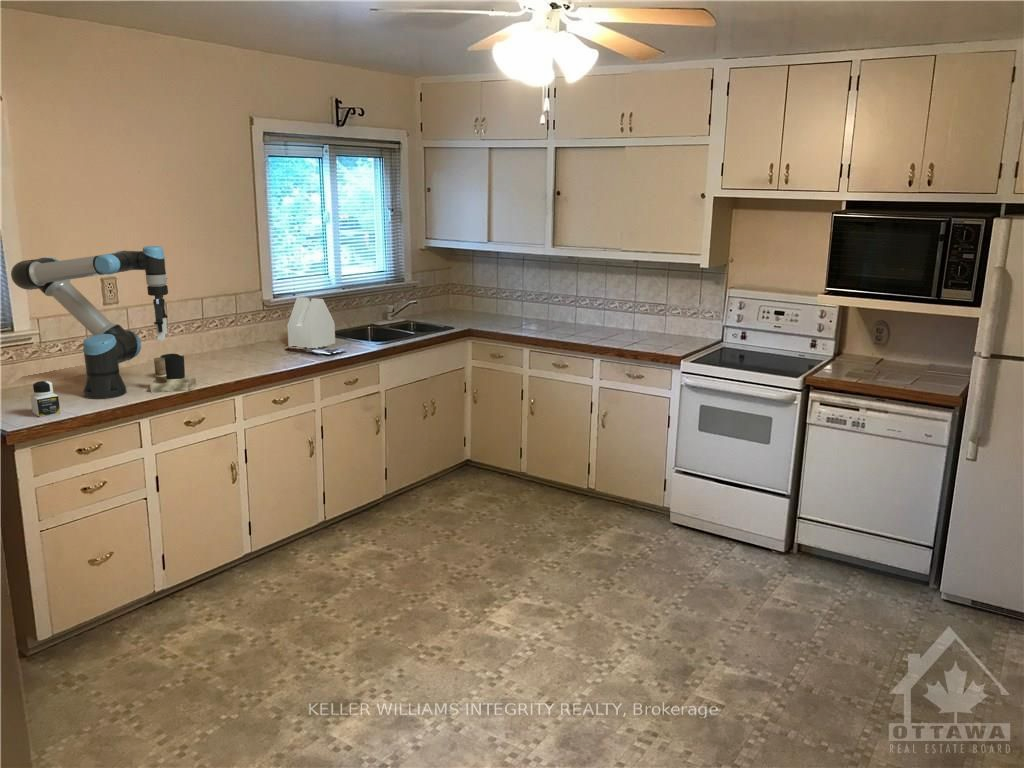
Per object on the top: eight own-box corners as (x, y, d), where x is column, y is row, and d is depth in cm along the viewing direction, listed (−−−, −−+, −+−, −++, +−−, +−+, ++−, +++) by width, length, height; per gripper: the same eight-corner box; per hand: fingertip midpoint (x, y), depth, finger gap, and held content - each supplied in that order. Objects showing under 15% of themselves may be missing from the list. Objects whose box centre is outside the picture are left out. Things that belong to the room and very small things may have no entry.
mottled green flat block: (151, 392, 317) (150, 385, 316) (155, 386, 325) (154, 379, 324) (192, 390, 320) (192, 383, 319) (196, 385, 329) (195, 378, 328)
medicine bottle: (39, 417, 282) (34, 385, 278) (32, 413, 286) (27, 382, 283) (60, 413, 287) (56, 382, 284) (53, 409, 291) (49, 378, 288)
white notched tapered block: (312, 340, 424) (310, 294, 418) (335, 343, 418) (333, 297, 411) (288, 346, 407) (285, 299, 401) (312, 349, 401) (309, 301, 395)
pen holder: (186, 375, 346) (184, 353, 343) (184, 380, 337) (182, 357, 334) (163, 376, 343) (161, 354, 340) (161, 381, 334) (159, 358, 332)
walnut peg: (155, 383, 318) (152, 359, 316) (157, 381, 322) (154, 357, 320) (166, 383, 319) (163, 359, 317) (168, 380, 323) (165, 357, 321)
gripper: (165, 288, 303) (171, 341, 308) (169, 281, 326) (174, 330, 331) (144, 289, 301) (150, 343, 306) (149, 281, 323) (155, 332, 329)
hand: (162, 336), depth 319 cm, fingers open, 13 cm apart
